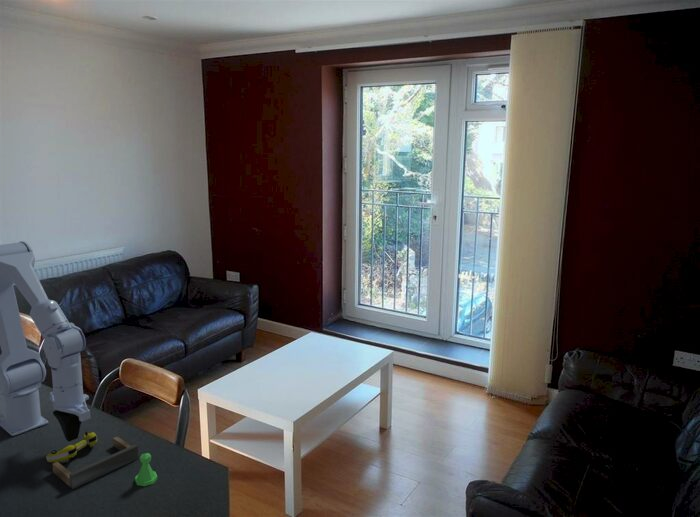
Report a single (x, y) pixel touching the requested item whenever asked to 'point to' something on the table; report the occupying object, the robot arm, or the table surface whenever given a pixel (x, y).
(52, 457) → the yellow plastic handheld tool
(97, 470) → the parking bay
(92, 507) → the table surface
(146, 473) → the game piece
